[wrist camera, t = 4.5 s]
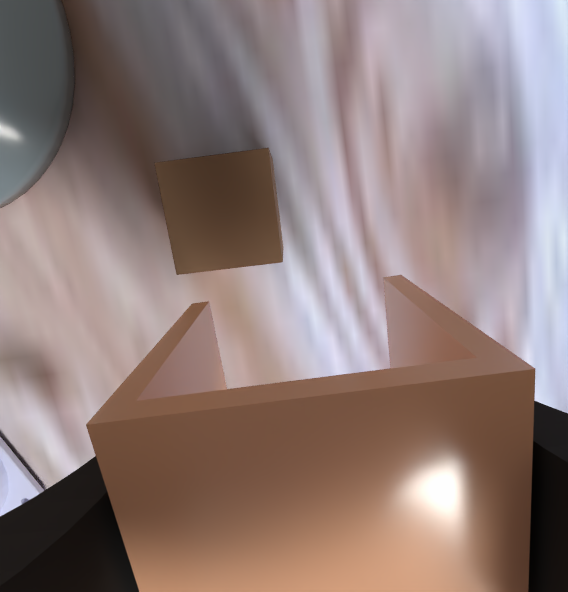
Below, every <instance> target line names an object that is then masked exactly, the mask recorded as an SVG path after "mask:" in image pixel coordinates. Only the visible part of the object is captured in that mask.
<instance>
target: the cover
mask: <svg viewBox="0 0 568 592" xmlns="http://www.w3.org/2000/svg"><path fill="white" fill-rule="evenodd" d="M383 281H384V293H385V306H386V319H387V332H388V345H389V358H390V369H383V370H375V371H367V372H359V373H351V374H344V375H336V376H328V377H320V378H312V379H304V380H296V381H288V382H280V383H273V384H265V385H257V386H249V387H241V388H233V389H227V387H226V382H225V377H224V372H223V367H222V362H221V357H220V352H219V347H218V343H217V338H216V333H215V328H214V323H213V318H212V313H211V308H210V303H209V301H208V302H201V303H194V304H191V306H190V307H189V308H188V309H187V310H186V311H185V312H184V314H183V315H182V316H181V317H180V318H179V319H178V320H177V322H176V323H175V324H174V325H173V326H172V327H171V328H170V330H169V331H168V332H167V333H166V334H165V335H164V336H163V338H162V339H161V340H160V341H159V342H158V343H157V344H156V346H155V347H154V348H153V349H152V350H151V351H150V352H149V354H148V355H147V356H146V357H145V358H144V359H143V360H142V361H141V363H140V364H139V365H138V366H137V367H136V368H135V369H134V371H133V372H132V373H131V374H130V375H129V376H128V377H127V379H126V380H125V381H124V382H123V383H122V384H121V385H120V387H119V388H118V389H117V390H116V391H115V392H114V393H113V395H112V396H111V397H110V398H109V399H108V400H107V401H106V403H105V404H104V405H103V406H102V407H101V408H100V409H99V411H98V412H97V413H96V414H95V415H94V416H93V417H92V419H91V420H90V421H89V422H88V423H87V424H86V426H87V429H88V433H89V436H90V439H91V442H92V445H93V448H94V451H95V454H96V458H97V461H98V464H99V467H100V470H101V473H102V476H103V479H104V483H105V486H106V489H107V492H108V495H109V498H110V501H111V504H112V508H113V511H114V514H115V517H116V520H117V523H118V526H119V529H120V533H121V536H122V539H123V542H124V545H125V548H126V551H127V554H128V558H129V561H130V564H131V567H132V570H133V573H134V576H135V579H136V583H137V586H138V589H139V592H528V584H529V553H530V521H531V489H532V457H533V426H534V394H535V368H533V367H532V366H531V365H529V364H528V363H526V362H525V361H523V360H522V359H521V358H519V357H518V356H516V355H515V354H513V353H512V352H511V351H509V350H508V349H506V348H505V347H503V346H502V345H501V344H499V343H498V342H496V341H495V340H493V339H492V338H491V337H489V336H488V335H486V334H485V333H483V332H482V331H481V330H479V329H478V328H476V327H475V326H473V325H472V324H471V323H469V322H468V321H466V320H465V319H463V318H462V317H461V316H459V315H458V314H456V313H455V312H453V311H452V310H450V309H449V308H448V307H446V306H445V305H443V304H442V303H440V302H439V301H438V300H436V299H435V298H433V297H432V296H430V295H429V294H428V293H426V292H425V291H423V290H422V289H420V288H419V287H418V286H416V285H415V284H413V283H412V282H410V281H409V280H408V279H406V278H405V277H403V276H402V275H397V276H390V277H383Z"/></svg>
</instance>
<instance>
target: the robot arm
mask: <svg viewBox="0 0 568 592" xmlns="http://www.w3.org/2000/svg"><path fill="white" fill-rule="evenodd" d="M28 499H29V500H28ZM0 592H139V589H138V586H137V583H136V579H135V576H134V573H133V570H132V567H131V564H130V561H129V558H128V554H127V551H126V548H125V545H124V542H123V539H122V536H121V533H120V529H119V526H118V523H117V520H116V517H115V514H114V511H113V508H112V504H111V501H110V498H109V495H108V492H107V489H106V486H105V483H104V479H103V476H102V473H101V470H100V467H99V464H98V461H97V458H96V456H95V457H94V458H92V459H91V460H90V461H88V462H87V463H86V464H84V465H83V466H81V467H80V468H79V469H77V470H76V471H74V472H73V473H71V474H70V475H68V476H67V477H65V478H64V479H62V480H61V481H59V482H58V483H56V484H55V485H53V486H51V487H50V488H48V489H46V490H45V491H44V490H43V488H42V487H41V486H40V485H39V483H38V482H37V481H36V480H35V479H34V477H33V476H32V475H31V474H30V472H29V471H28V470H27V469H26V468H25V466H24V465H23V464H22V463H21V461H20V460H19V459H18V458H17V456H16V455H15V454H14V453H13V452H12V450H11V449H10V448H9V447H8V445H7V444H6V443H5V442H4V441H3V439H2V438H1V437H0ZM528 592H568V413H565V412H562V411H560V410H557V409H554V408H552V407H549V406H546V405H544V404H541V403H539V402H536V401H534V426H533V457H532V489H531V521H530V553H529V584H528Z"/></svg>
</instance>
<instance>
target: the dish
mask: <svg viewBox="0 0 568 592" xmlns="http://www.w3.org/2000/svg"><path fill="white" fill-rule="evenodd" d="M74 84H75V77H74V55H73V48H72V41H71V34H70V29H69V26H68V22H67V18H66V14H65V10H64V6H63V4H62V1H61V0H0V208H2V207H4V206H6V205H8V204H10V203H11V202H13V201H14V200H16V199H17V198H18V197H20V196H21V195H23V194H24V193H26V192H27V191H28V190H29V189H30V188H31V187H32V186H33V185H34V184H35V183H36V182H37V181H38V180H39V179H40V178H41V176H42V175H43V174H44V172H45V171H46V170H47V168H48V167H49V166H50V164H51V163H52V161H53V159H54V157H55V155H56V154H57V152H58V150H59V148H60V146H61V143H62V141H63V138H64V135H65V133H66V130H67V127H68V123H69V119H70V114H71V110H72V105H73V95H74Z"/></svg>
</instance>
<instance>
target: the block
mask: <svg viewBox="0 0 568 592" xmlns="http://www.w3.org/2000/svg"><path fill="white" fill-rule="evenodd" d="M154 164H155V169H156V174H157V179H158V184H159V189H160V194H161V199H162V204H163V209H164V214H165V219H166V224H167V229H168V234H169V239H170V244H171V249H172V254H173V259H174V264H175V269H176V274H177V275H179V274H188V273H196V272H204V271H213V270H221V269H230V268H238V267H246V266H255V265H263V264H271V263H280V262H283V241H282V233H281V225H280V216H279V208H278V200H277V192H276V184H275V176H274V168H273V159H272V156H271V154H270V151H269V148H263V149H256V150H248V151H240V152H233V153H225V154H218V155H210V156H202V157H195V158H187V159H179V160H172V161H164V162H157V163H154Z"/></svg>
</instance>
